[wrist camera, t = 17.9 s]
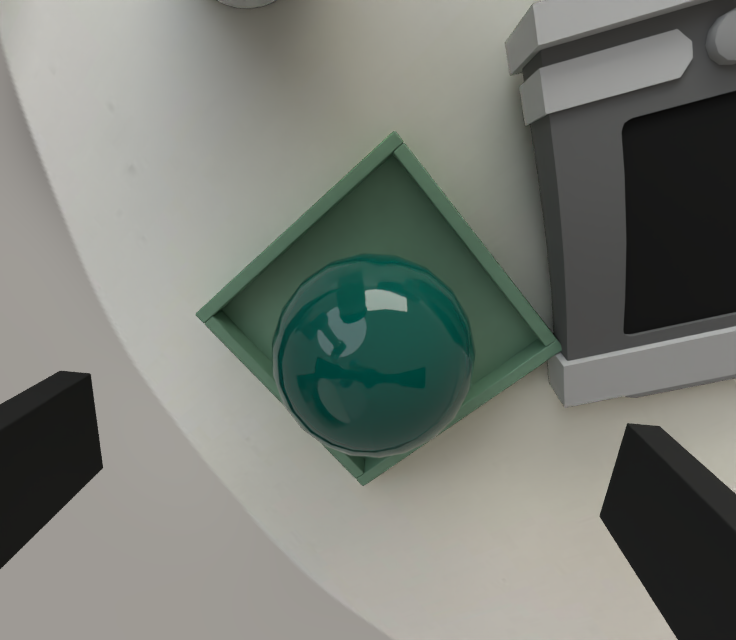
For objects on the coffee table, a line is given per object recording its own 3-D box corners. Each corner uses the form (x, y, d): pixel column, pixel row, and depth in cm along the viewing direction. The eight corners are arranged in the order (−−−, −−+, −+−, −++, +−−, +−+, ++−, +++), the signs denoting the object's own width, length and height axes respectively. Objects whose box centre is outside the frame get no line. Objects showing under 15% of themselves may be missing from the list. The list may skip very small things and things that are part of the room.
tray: (208, 305, 22) (194, 314, 20) (394, 134, 19) (394, 129, 17) (364, 468, 24) (363, 487, 22) (552, 337, 21) (564, 349, 19)
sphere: (311, 224, 20) (257, 245, 12) (480, 262, 20) (533, 307, 12) (285, 378, 22) (226, 478, 14) (435, 411, 22) (457, 529, 14)
